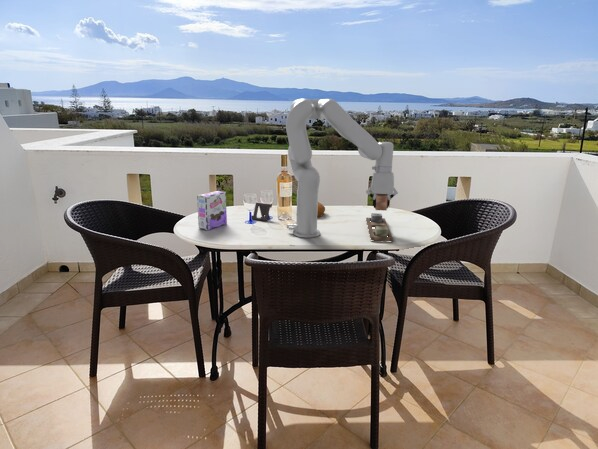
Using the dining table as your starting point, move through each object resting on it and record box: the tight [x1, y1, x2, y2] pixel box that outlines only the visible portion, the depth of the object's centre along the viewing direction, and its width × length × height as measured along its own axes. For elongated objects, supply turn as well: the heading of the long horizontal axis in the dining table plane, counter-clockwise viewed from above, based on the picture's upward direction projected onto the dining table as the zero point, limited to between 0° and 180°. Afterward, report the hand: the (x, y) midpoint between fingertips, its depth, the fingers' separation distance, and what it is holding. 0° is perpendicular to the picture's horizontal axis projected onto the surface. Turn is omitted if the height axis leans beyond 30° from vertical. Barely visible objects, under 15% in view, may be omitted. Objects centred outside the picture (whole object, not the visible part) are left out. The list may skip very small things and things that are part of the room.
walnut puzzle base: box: [365, 212, 394, 242], centre depth 189 cm, size 10×32×5 cm, turn 175°
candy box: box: [196, 190, 228, 231], centre depth 189 cm, size 14×6×16 cm, turn 147°
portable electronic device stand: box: [250, 201, 273, 222], centre depth 205 cm, size 9×8×8 cm
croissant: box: [317, 201, 326, 218], centre depth 216 cm, size 14×16×8 cm
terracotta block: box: [374, 194, 388, 211], centre depth 185 cm, size 5×5×7 cm
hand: (380, 207), depth 186 cm, fingers closed on terracotta block, 5 cm apart
